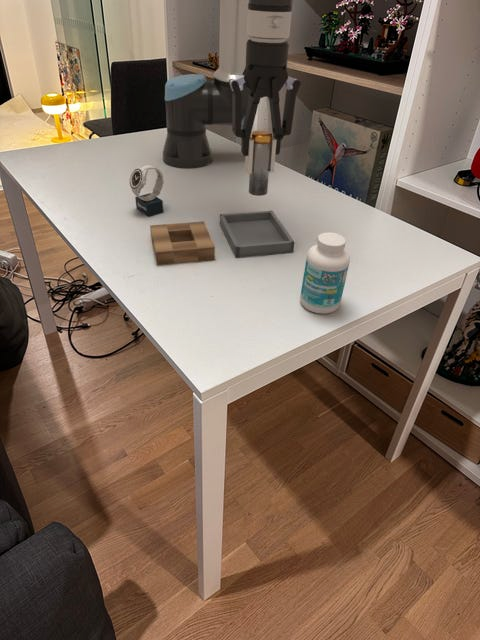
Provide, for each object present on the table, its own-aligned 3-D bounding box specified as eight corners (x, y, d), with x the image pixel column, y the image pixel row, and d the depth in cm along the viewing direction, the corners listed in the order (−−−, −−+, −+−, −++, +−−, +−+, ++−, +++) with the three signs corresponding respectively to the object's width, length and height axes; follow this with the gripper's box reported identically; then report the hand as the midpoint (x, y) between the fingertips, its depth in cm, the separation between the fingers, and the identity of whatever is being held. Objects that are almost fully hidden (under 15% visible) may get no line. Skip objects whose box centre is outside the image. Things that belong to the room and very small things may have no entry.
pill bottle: (295, 309, 84) (304, 243, 76) (305, 288, 90) (314, 225, 81) (335, 319, 82) (349, 253, 74) (343, 297, 88) (357, 233, 79)
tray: (219, 224, 110) (219, 214, 108) (271, 220, 113) (272, 210, 111) (235, 257, 98) (235, 247, 96) (293, 252, 100) (294, 242, 99)
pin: (251, 196, 96) (254, 136, 89) (246, 188, 99) (249, 130, 92) (269, 195, 97) (274, 136, 90) (264, 187, 100) (268, 130, 93)
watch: (129, 210, 114) (124, 166, 107) (157, 203, 118) (154, 160, 111) (141, 219, 110) (136, 174, 104) (169, 210, 115) (167, 166, 108)
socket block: (151, 237, 103) (150, 225, 101) (204, 233, 106) (203, 221, 104) (156, 265, 94) (155, 252, 92) (214, 259, 97) (214, 247, 95)
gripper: (225, 41, 76) (223, 179, 91) (321, 42, 80) (304, 175, 95) (216, 35, 82) (215, 166, 97) (305, 37, 86) (292, 162, 100)
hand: (259, 170), depth 95 cm, fingers closed on pin, 4 cm apart
